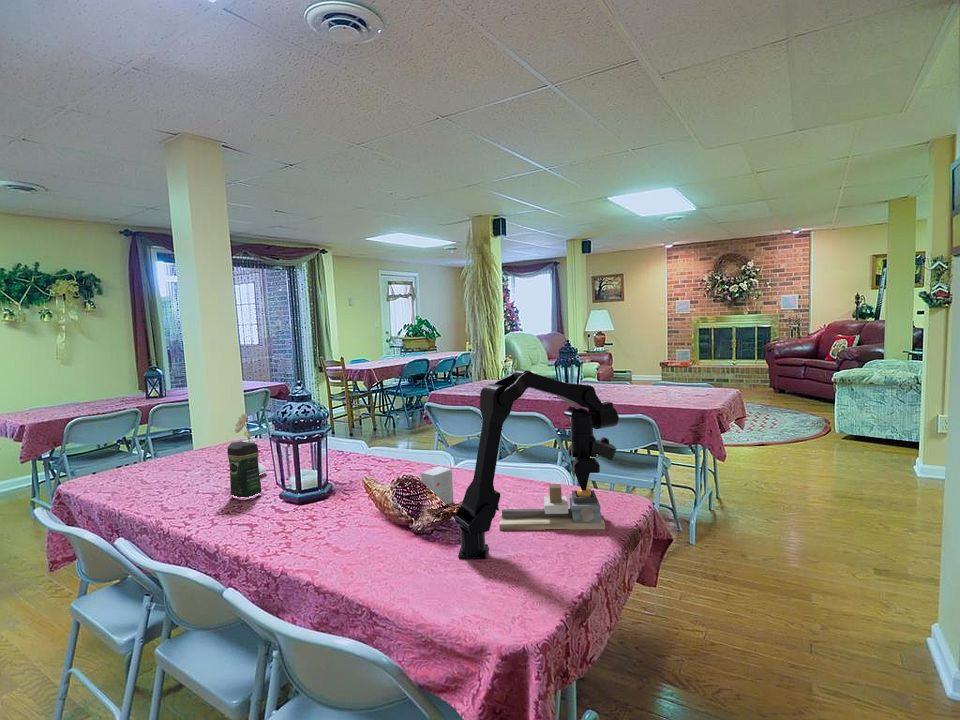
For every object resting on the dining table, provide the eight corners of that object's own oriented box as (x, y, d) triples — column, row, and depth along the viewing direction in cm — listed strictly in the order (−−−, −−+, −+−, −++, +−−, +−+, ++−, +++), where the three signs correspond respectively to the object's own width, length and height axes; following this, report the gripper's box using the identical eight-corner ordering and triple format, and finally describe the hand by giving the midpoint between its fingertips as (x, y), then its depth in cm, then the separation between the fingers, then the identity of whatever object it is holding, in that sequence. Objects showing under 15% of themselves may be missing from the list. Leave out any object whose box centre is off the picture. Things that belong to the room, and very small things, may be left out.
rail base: (605, 529, 128) (604, 500, 127) (499, 529, 130) (498, 501, 130) (599, 514, 138) (598, 487, 137) (501, 515, 140) (500, 489, 140)
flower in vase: (237, 474, 193) (232, 410, 192) (269, 470, 197) (264, 407, 195) (231, 484, 181) (226, 416, 179) (265, 480, 184) (260, 413, 182)
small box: (440, 499, 156) (439, 465, 155) (454, 502, 152) (452, 468, 151) (422, 506, 150) (420, 472, 149) (435, 510, 146) (433, 475, 145)
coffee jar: (266, 495, 167) (262, 440, 165) (243, 503, 160) (239, 446, 159) (249, 491, 172) (245, 438, 171) (226, 498, 165) (222, 443, 164)
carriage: (568, 513, 130) (567, 490, 129) (545, 513, 130) (544, 490, 130) (566, 503, 137) (565, 481, 136) (544, 504, 137) (543, 482, 137)
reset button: (592, 500, 131) (591, 491, 130) (578, 500, 131) (577, 491, 131) (590, 496, 134) (590, 487, 134) (576, 496, 135) (576, 487, 134)
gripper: (620, 439, 121) (621, 502, 122) (607, 423, 140) (608, 478, 141) (573, 440, 122) (575, 502, 123) (567, 424, 141) (568, 479, 142)
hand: (583, 489), depth 132 cm, fingers closed, pressing on reset button
